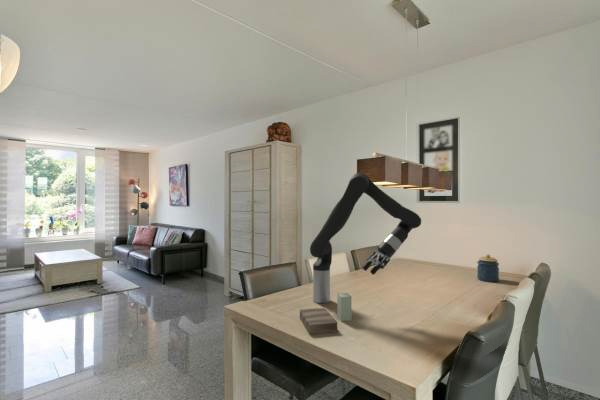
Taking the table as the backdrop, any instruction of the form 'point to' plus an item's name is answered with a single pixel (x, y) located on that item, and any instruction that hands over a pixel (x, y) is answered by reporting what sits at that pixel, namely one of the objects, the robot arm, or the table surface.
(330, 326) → the walnut base
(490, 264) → the canister
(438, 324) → the table surface
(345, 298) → the sage block
